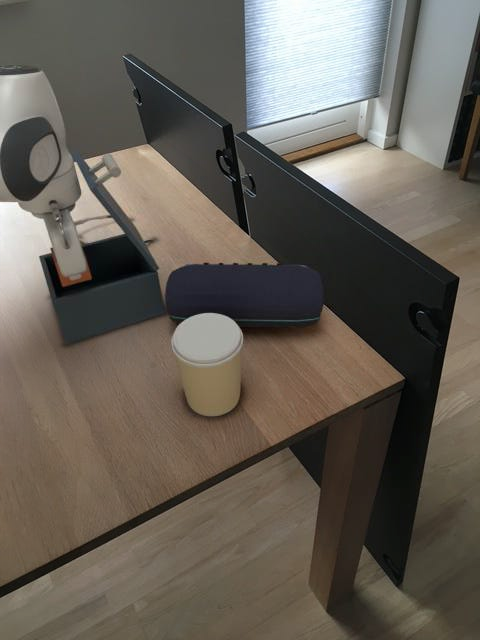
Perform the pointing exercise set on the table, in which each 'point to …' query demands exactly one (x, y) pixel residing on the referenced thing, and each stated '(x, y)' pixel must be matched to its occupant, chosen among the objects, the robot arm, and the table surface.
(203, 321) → the coffee cup
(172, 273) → the portable speaker
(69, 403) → the table surface
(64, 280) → the block
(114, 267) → the open box
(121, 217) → the lid
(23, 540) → the table surface
